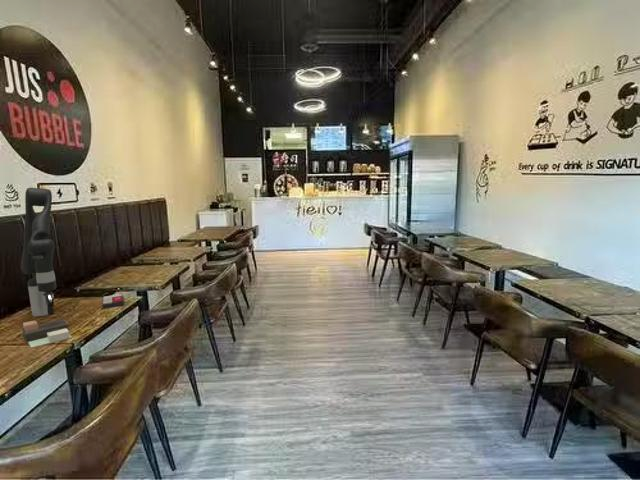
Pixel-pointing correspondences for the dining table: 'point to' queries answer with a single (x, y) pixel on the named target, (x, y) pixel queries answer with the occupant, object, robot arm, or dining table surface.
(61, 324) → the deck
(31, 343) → the mat
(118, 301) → the red and white box
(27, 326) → the salmon pink block
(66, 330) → the cream tile
